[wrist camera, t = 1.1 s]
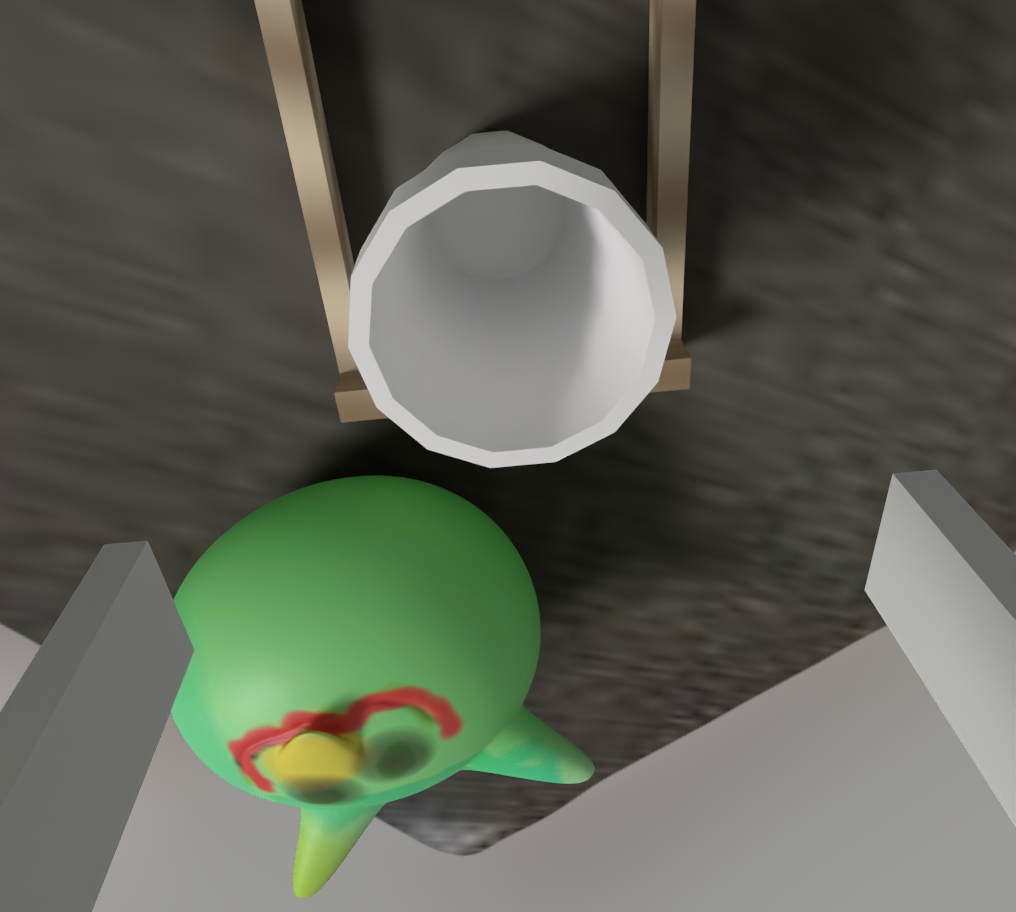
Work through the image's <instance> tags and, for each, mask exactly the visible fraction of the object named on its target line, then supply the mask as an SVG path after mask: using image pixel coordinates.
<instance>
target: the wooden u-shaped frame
mask: <svg viewBox="0 0 1016 912" xmlns="http://www.w3.org/2000/svg"><path fill="white" fill-rule="evenodd" d="M255 5H256V9H257V14H258V18H259V22H260V27H261V31H262V35H263V40H264V44H265V49H266V53H267V57H268V62H269V66H270V70H271V75H272V79H273V84H274V88H275V92H276V97H277V101H278V105H279V110H280V114H281V119H282V123H283V127H284V132H285V136H286V141H287V145H288V149H289V154H290V158H291V162H292V167H293V171H294V176H295V180H296V184H297V189H298V193H299V197H300V202H301V206H302V211H303V215H304V219H305V224H306V228H307V232H308V237H309V241H310V246H311V250H312V254H313V259H314V263H315V267H316V272H317V276H318V281H319V285H320V289H321V294H322V298H323V302H324V307H325V311H326V316H327V320H328V324H329V329H330V333H331V337H332V342H333V346H334V351H335V355H336V359H337V364H338V368H339V372H340V375H339V378H338V381H337V385H336V388H335V391H334V394H335V399H336V403H337V407H338V411H339V415H340V420H341V423H343V422H353V421H363V420H373V419H384V418H388V417H387V416H386V415H385V414H384V413H382V412H381V411H380V410H379V409H377V408H376V405H375V403H374V401H373V399H372V397H371V395H370V393H369V391H368V388H367V386H366V384H365V382H364V380H363V378H362V376H361V374H360V371H359V369H358V367H357V365H356V363H355V361H354V359H353V357H352V354H351V352H350V350H349V348H348V336H349V310H350V283H351V275H352V272H353V269H354V261H353V256H352V251H351V246H350V241H349V236H348V231H347V226H346V221H345V216H344V211H343V206H342V201H341V196H340V191H339V186H338V181H337V176H336V171H335V166H334V161H333V156H332V151H331V146H330V141H329V136H328V131H327V126H326V121H325V116H324V111H323V106H322V101H321V96H320V90H319V85H318V80H317V75H316V70H315V65H314V60H313V55H312V50H311V45H310V40H309V35H308V30H307V25H306V20H305V15H304V10H303V5H302V0H255ZM695 16H696V0H650V20H649V84H648V149H647V213H646V225H647V226H648V227H649V229H650V230H651V232H652V233H653V235H654V236H655V238H656V239H657V241H658V242H659V243H660V245H661V246H662V248H663V252H664V257H665V262H666V267H667V272H668V277H669V282H670V287H671V292H672V297H673V302H674V306H675V311H676V316H677V317H676V321H675V324H674V328H673V332H672V335H671V339H670V342H669V346H668V349H667V353H666V356H665V360H664V363H663V367H662V370H661V374H660V377H659V381H658V383H657V384H656V385H655V386H654V387H653V389H652V390H651V391H650V392H649V393H651V392H661V391H671V390H682V389H690V372H691V357H690V355H689V353H688V351H687V350H686V348H685V346H684V344H683V343H682V341H681V333H682V311H683V288H684V266H685V243H686V220H687V198H688V175H689V152H690V130H691V107H692V84H693V62H694V39H695Z"/></svg>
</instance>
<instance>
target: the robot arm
mask: <svg viewBox="0 0 1016 912" xmlns="http://www.w3.org/2000/svg"><path fill="white" fill-rule="evenodd" d="M865 591H866V593H867V594H868V596H869V598H870V599H871V601H872V602H873V604H874V605H875V607H876V609H877V610H878V612H879V613H880V615H881V616H882V618H883V620H884V621H885V623H886V624H887V626H888V627H889V629H890V630H891V632H892V634H893V635H894V637H895V638H896V640H897V642H898V643H899V645H900V646H901V648H902V649H903V651H904V652H905V654H906V655H907V657H908V659H909V660H910V662H911V663H912V665H913V666H914V668H915V670H916V671H917V673H918V674H919V676H920V678H921V679H922V681H923V682H924V684H925V685H926V687H927V689H928V690H929V692H930V693H931V695H932V696H933V698H934V700H935V701H936V703H937V704H938V706H939V707H940V709H941V711H942V712H943V714H944V715H945V717H946V718H947V720H948V722H949V723H950V725H951V726H952V728H953V729H954V731H955V733H956V734H957V736H958V737H959V739H960V740H961V742H962V744H963V745H964V747H965V748H966V750H967V751H968V753H969V755H970V756H971V758H972V759H973V761H974V762H975V764H976V766H977V767H978V769H979V770H980V772H981V773H982V775H983V777H984V778H985V780H986V781H987V783H988V784H989V786H990V788H991V789H992V791H993V792H994V794H995V795H996V797H997V798H998V800H999V801H1000V803H1001V805H1002V806H1003V808H1004V809H1005V811H1006V813H1007V814H1008V816H1009V817H1010V819H1011V820H1012V822H1013V824H1014V825H1015V827H1016V555H1015V554H1014V553H1013V552H1012V551H1011V550H1010V549H1009V548H1008V546H1007V545H1006V544H1005V543H1004V542H1003V541H1002V540H1001V539H1000V538H999V537H998V536H997V535H996V534H995V532H994V531H993V530H992V529H991V528H990V527H989V526H988V525H987V524H986V523H985V522H984V521H983V520H982V518H981V517H980V516H979V515H978V514H977V513H976V512H975V511H974V510H973V509H972V508H971V507H970V506H969V504H968V503H967V502H966V501H965V500H964V499H963V498H962V497H961V496H960V495H959V494H958V493H957V492H956V490H955V489H954V488H953V487H952V486H951V485H950V484H949V483H948V482H947V481H946V480H945V479H944V478H943V476H942V475H941V474H940V473H939V472H938V471H937V470H928V471H917V472H906V473H895V474H893V475H892V479H891V483H890V487H889V491H888V495H887V499H886V504H885V508H884V512H883V516H882V520H881V524H880V529H879V533H878V537H877V541H876V545H875V549H874V553H873V558H872V562H871V566H870V570H869V574H868V578H867V582H866V587H865ZM193 653H194V648H193V645H192V643H191V641H190V638H189V636H188V634H187V631H186V629H185V627H184V624H183V622H182V620H181V617H180V615H179V613H178V610H177V608H176V606H175V603H174V601H173V599H172V596H171V594H170V592H169V589H168V587H167V585H166V582H165V580H164V578H163V575H162V573H161V571H160V568H159V566H158V564H157V561H156V559H155V557H154V554H153V552H152V550H151V548H150V545H149V543H148V541H138V542H127V543H116V544H105V545H104V546H103V547H102V549H101V550H100V552H99V554H98V555H97V557H96V559H95V560H94V562H93V563H92V565H91V567H90V568H89V570H88V571H87V573H86V575H85V576H84V578H83V580H82V581H81V583H80V584H79V586H78V588H77V589H76V591H75V592H74V594H73V596H72V597H71V599H70V601H69V602H68V604H67V605H66V607H65V609H64V610H63V612H62V613H61V615H60V617H59V618H58V620H57V621H56V623H55V625H54V626H53V628H52V630H51V631H50V633H49V634H48V636H47V638H46V639H45V641H44V642H43V644H42V646H41V647H40V649H39V651H38V652H37V654H36V655H35V657H34V659H33V660H32V662H31V663H30V665H29V667H28V668H27V670H26V672H25V673H24V675H23V676H22V678H21V680H20V681H19V683H18V684H17V686H16V688H15V689H14V691H13V692H12V694H11V696H10V697H9V699H8V701H7V702H6V704H5V706H4V707H3V709H2V710H1V712H0V912H92V910H93V907H94V904H95V902H96V900H97V897H98V895H99V892H100V889H101V887H102V884H103V882H104V879H105V877H106V874H107V872H108V869H109V867H110V864H111V861H112V859H113V856H114V854H115V851H116V849H117V846H118V844H119V841H120V839H121V836H122V833H123V831H124V828H125V826H126V823H127V820H128V818H129V816H130V813H131V811H132V808H133V806H134V803H135V800H136V798H137V795H138V793H139V790H140V788H141V785H142V783H143V780H144V777H145V775H146V772H147V770H148V767H149V765H150V762H151V760H152V757H153V754H154V752H155V750H156V747H157V744H158V742H159V739H160V737H161V734H162V732H163V729H164V727H165V724H166V722H167V719H168V716H169V714H170V711H171V709H172V706H173V704H174V701H175V699H176V696H177V694H178V691H179V689H180V686H181V683H182V681H183V678H184V676H185V673H186V671H187V668H188V666H189V663H190V661H191V658H192V655H193Z"/></svg>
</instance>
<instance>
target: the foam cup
mask: <svg viewBox="0 0 1016 912" xmlns="http://www.w3.org/2000/svg"><path fill="white" fill-rule="evenodd" d="M676 317H677V316H676V311H675V306H674V302H673V297H672V292H671V287H670V282H669V277H668V272H667V267H666V262H665V257H664V252H663V248H662V246H661V245H660V243H659V242H658V241H657V239H656V238H655V236H654V235H653V233H652V232H651V230H650V229H649V227H648V226H647V225H646V223H645V222H644V221H643V220H642V218H641V217H640V216H639V215H638V214H637V212H636V211H635V210H634V209H633V208H632V206H631V205H630V204H629V203H628V202H627V200H626V199H625V198H624V197H623V196H622V194H621V193H620V192H619V191H618V190H617V188H616V187H615V186H614V185H613V184H612V182H611V181H610V180H609V179H608V178H607V176H606V175H605V174H604V173H603V172H602V170H600V169H598V168H595V167H593V166H590V165H588V164H585V163H583V162H580V161H578V160H576V159H573V158H571V157H568V156H566V155H563V154H561V153H558V152H556V151H553V150H551V149H549V148H547V147H545V146H543V145H542V144H539V143H537V142H534V141H532V140H530V139H527V138H525V137H522V136H520V135H517V134H515V133H512V132H510V131H507V130H505V131H494V132H484V133H473V134H471V135H469V136H468V137H466V138H465V139H463V140H462V141H460V142H458V143H457V144H455V145H454V146H452V147H451V148H449V149H448V150H446V151H444V152H443V153H442V154H440V155H439V156H438V157H437V158H436V159H435V160H434V161H433V162H432V163H431V164H430V165H429V166H428V167H427V168H426V169H425V170H424V171H423V172H421V173H420V174H418V175H417V176H415V177H414V178H412V179H410V180H409V181H407V182H406V183H404V184H403V185H401V186H399V187H398V188H396V189H395V191H394V193H393V194H392V196H391V198H390V199H389V201H388V203H387V205H386V206H385V208H384V210H383V212H382V213H381V215H380V217H379V218H378V220H377V222H376V224H375V225H374V227H373V229H372V231H371V232H370V234H369V236H368V237H367V239H366V241H365V243H364V244H363V246H362V248H361V250H360V252H359V255H358V258H357V261H356V264H355V266H354V269H353V272H352V275H351V283H350V310H349V336H348V348H349V350H350V352H351V354H352V357H353V359H354V361H355V363H356V365H357V367H358V369H359V371H360V374H361V376H362V378H363V380H364V382H365V384H366V386H367V388H368V391H369V393H370V395H371V397H372V399H373V401H374V403H375V405H376V408H377V409H379V410H380V411H381V412H382V413H384V414H385V415H386V416H387V417H388V418H390V419H391V420H392V421H393V422H394V423H396V424H397V425H398V426H399V427H401V428H402V429H403V430H404V431H405V432H407V433H408V434H409V435H410V436H411V437H413V438H414V439H415V440H416V441H418V442H419V443H420V444H421V445H422V446H424V447H425V448H426V449H427V450H430V451H434V452H437V453H441V454H444V455H447V456H451V457H454V458H458V459H461V460H464V461H468V462H471V463H475V464H478V465H481V466H485V467H488V468H497V467H508V466H519V465H530V464H541V463H551V462H557V461H559V460H561V459H563V458H565V457H567V456H569V455H571V454H573V453H575V452H577V451H579V450H581V449H583V448H585V447H587V446H589V445H591V444H593V443H595V442H597V441H599V440H601V439H603V438H605V437H607V436H609V435H611V434H613V433H615V432H616V430H617V429H618V428H619V427H620V426H621V425H622V423H623V422H624V421H625V420H626V419H627V418H628V417H629V415H630V414H631V413H632V412H633V411H634V410H635V408H636V407H637V406H638V405H639V404H640V403H641V401H642V400H643V399H644V398H645V397H646V396H647V394H648V393H649V392H650V391H651V390H652V389H653V387H654V386H655V385H656V384H657V383H658V381H659V377H660V374H661V370H662V367H663V363H664V360H665V356H666V353H667V349H668V346H669V342H670V339H671V335H672V332H673V328H674V324H675V321H676Z"/></svg>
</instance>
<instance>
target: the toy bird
mask: <svg viewBox="0 0 1016 912" xmlns="http://www.w3.org/2000/svg"><path fill="white" fill-rule="evenodd" d="M173 601H174V603H175V606H176V608H177V610H178V613H179V615H180V617H181V620H182V622H183V624H184V627H185V629H186V631H187V634H188V636H189V638H190V641H191V643H192V645H193V648H194V653H193V655H192V658H191V661H190V663H189V666H188V668H187V671H186V673H185V676H184V678H183V681H182V683H181V686H180V689H179V691H178V694H177V696H176V699H175V701H174V704H173V706H172V709H171V711H170V712H171V714H172V716H173V719H174V721H175V723H176V725H177V727H178V729H179V731H180V732H181V734H182V735H183V737H184V739H185V740H186V742H187V743H188V745H189V746H190V747H191V749H192V750H193V751H194V752H195V754H196V755H197V756H198V757H199V758H200V759H201V760H202V761H203V762H204V763H205V764H206V765H207V766H208V767H209V768H210V769H211V770H212V771H214V772H215V773H216V774H217V775H219V776H220V777H221V778H223V779H224V780H226V781H227V782H229V783H230V784H232V785H234V786H235V787H237V788H239V789H241V790H243V791H245V792H247V793H249V794H252V795H254V796H257V797H260V798H262V799H265V800H269V801H272V802H276V803H280V804H284V805H289V806H296V807H300V808H301V824H300V832H299V838H298V845H297V851H296V857H295V864H294V873H293V889H294V893H295V895H296V896H297V897H299V898H307V897H310V896H312V895H314V894H315V893H316V892H317V891H319V890H320V889H321V888H322V887H323V886H324V884H325V883H326V882H327V881H328V880H329V879H330V878H331V876H332V875H333V874H334V873H335V871H336V870H337V868H338V867H339V866H340V865H341V863H342V862H343V860H344V859H345V858H346V856H347V855H348V853H349V852H350V851H351V849H352V848H353V846H354V845H355V844H356V842H357V841H358V839H359V838H360V836H361V835H362V833H363V832H364V831H365V829H366V828H367V826H368V825H369V824H370V822H371V821H372V819H373V818H374V817H375V815H376V814H377V813H378V811H379V810H380V809H381V808H382V807H383V806H384V805H385V803H387V802H390V801H394V800H397V799H401V798H404V797H407V796H410V795H412V794H415V793H417V792H420V791H422V790H425V789H427V788H429V787H431V786H433V785H435V784H437V783H439V782H441V781H443V780H445V779H446V778H448V777H450V776H451V775H453V774H455V773H456V772H458V771H459V770H476V771H483V772H490V773H496V774H502V775H507V776H513V777H519V778H525V779H531V780H537V781H545V782H553V783H568V784H570V783H580V782H584V781H586V780H588V779H589V778H590V777H591V776H592V775H593V773H594V770H595V768H594V765H593V763H592V762H591V760H590V759H589V758H588V757H587V756H586V755H585V754H584V753H583V752H582V751H581V750H580V749H579V748H577V747H576V746H575V745H574V744H572V743H571V742H570V741H568V740H567V739H566V738H564V737H563V736H562V735H560V734H559V733H558V732H556V731H555V730H554V729H552V728H551V727H549V726H548V725H547V724H545V723H544V722H543V721H541V720H540V719H539V718H537V717H536V716H535V715H534V714H532V713H531V712H530V711H529V710H528V709H527V708H526V707H525V706H524V705H523V701H524V699H525V697H526V695H527V693H528V691H529V688H530V686H531V683H532V680H533V677H534V674H535V670H536V666H537V662H538V656H539V650H540V637H541V626H540V614H539V607H538V602H537V597H536V593H535V590H534V586H533V583H532V580H531V578H530V575H529V573H528V570H527V568H526V566H525V564H524V562H523V560H522V558H521V556H520V555H519V553H518V551H517V550H516V548H515V546H514V545H513V544H512V542H511V541H510V539H509V538H508V537H507V535H506V534H505V533H504V532H503V531H502V530H501V528H500V527H499V526H498V525H497V524H496V523H495V522H494V521H493V520H492V519H491V518H490V517H488V516H487V515H486V514H485V513H484V512H483V511H481V510H480V509H479V508H477V507H476V506H475V505H473V504H472V503H470V502H469V501H467V500H465V499H464V498H462V497H460V496H458V495H456V494H454V493H452V492H450V491H448V490H446V489H443V488H441V487H438V486H436V485H433V484H430V483H426V482H423V481H419V480H415V479H410V478H404V477H396V476H356V477H347V478H340V479H334V480H329V481H325V482H321V483H317V484H313V485H310V486H307V487H304V488H301V489H298V490H295V491H292V492H290V493H288V494H285V495H283V496H281V497H279V498H276V499H274V500H272V501H271V502H269V503H267V504H265V505H263V506H262V507H260V508H258V509H256V510H255V511H253V512H252V513H250V514H249V515H247V516H246V517H244V518H243V519H242V520H240V521H239V522H237V523H236V524H235V525H234V526H232V527H231V528H230V529H229V530H227V531H226V532H225V533H224V534H223V535H222V536H221V537H220V538H218V539H217V540H216V541H215V542H214V543H213V544H212V545H211V546H210V547H209V548H208V550H207V551H206V552H205V553H204V554H203V555H202V556H201V558H200V559H199V560H198V561H197V562H196V564H195V565H194V566H193V568H192V569H191V571H190V572H189V573H188V575H187V576H186V578H185V580H184V581H183V583H182V585H181V586H180V588H179V590H178V592H177V594H176V596H175V598H174V600H173Z"/></svg>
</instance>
